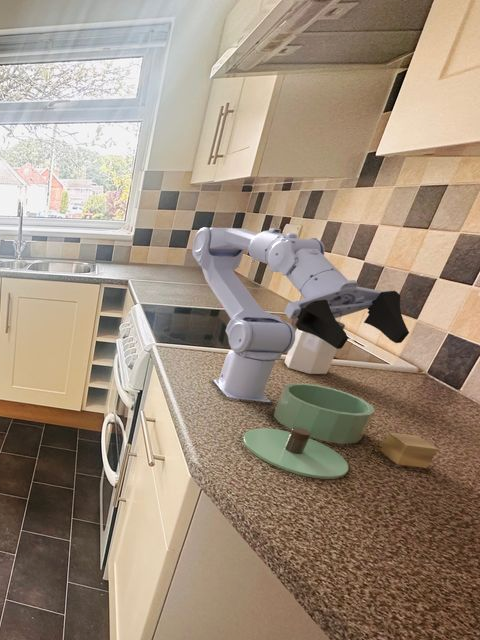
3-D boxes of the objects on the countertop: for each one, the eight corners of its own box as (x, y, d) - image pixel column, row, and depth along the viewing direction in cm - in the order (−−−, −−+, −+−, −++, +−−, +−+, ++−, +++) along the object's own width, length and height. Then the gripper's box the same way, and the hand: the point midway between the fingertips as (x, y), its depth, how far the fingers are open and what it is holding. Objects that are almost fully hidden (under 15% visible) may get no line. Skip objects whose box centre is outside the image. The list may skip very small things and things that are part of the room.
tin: (261, 407, 82) (271, 379, 80) (333, 415, 80) (346, 387, 78) (292, 439, 71) (305, 409, 69) (377, 450, 69) (393, 419, 66)
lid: (229, 428, 74) (237, 405, 72) (315, 440, 71) (326, 416, 69) (262, 474, 62) (272, 447, 60) (367, 489, 59) (381, 462, 57)
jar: (307, 362, 108) (325, 317, 103) (335, 374, 100) (356, 326, 95) (275, 362, 107) (292, 316, 102) (301, 374, 99) (321, 326, 94)
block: (377, 452, 68) (389, 432, 67) (406, 456, 68) (418, 435, 66) (395, 467, 65) (407, 445, 63) (425, 471, 64) (438, 449, 62)
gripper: (282, 270, 67) (328, 325, 58) (384, 257, 65) (449, 313, 56) (267, 305, 72) (307, 360, 63) (361, 294, 70) (416, 350, 61)
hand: (372, 340), depth 60 cm, fingers open, 7 cm apart
